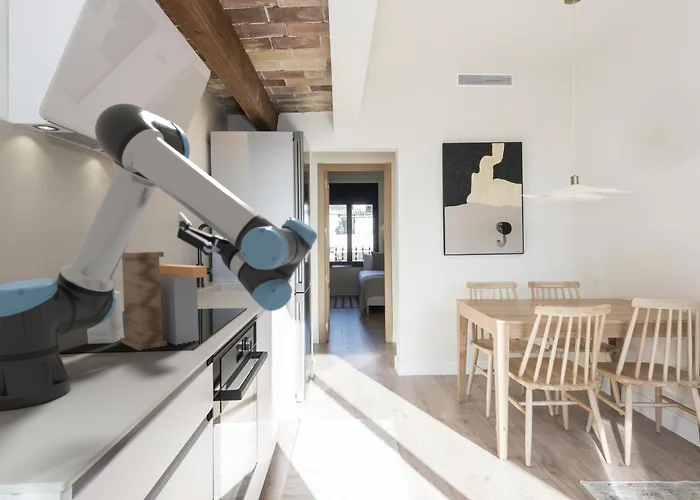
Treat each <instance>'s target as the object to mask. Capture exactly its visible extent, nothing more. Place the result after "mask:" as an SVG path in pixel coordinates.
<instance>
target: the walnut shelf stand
mask: <svg viewBox="0 0 700 500" xmlns="http://www.w3.org/2000/svg"><path fill="white" fill-rule="evenodd" d="M164 256H165V254H164V251H124V253H123V255H122V258H121V260H122V261H121V263H122V264H121V265H122V287H123V288H122V290H123V291H122V292H123V313H124V314H123V315H124V316H123V317H124V337H121V340H120V343H122V344H124V345H126V346H128V347H130V348H132V349H135V350H136V351H143V349H145V350H149V349H148V348H150V349H155V348H159V347H160V346H161V347H165V346H166V347H167V346H168V342H167V340H165V339H162V324H161V296H160V269H159V265H160V258H163V257H164ZM154 347H155V348H154Z"/></svg>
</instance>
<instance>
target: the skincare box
mask: <svg viewBox="0 0 700 500" xmlns="http://www.w3.org/2000/svg"><path fill="white" fill-rule="evenodd" d="M114 291H115V294H114V296H115V298H116V305H115V308H114V311H113V313H112V314H111V316H110V317H109V318H108V319H107V320H106V321H104V322H103V323H101V324H99V325H96V326H95V327H92V328H89V329H86V332H87V344H89V345H91V344H114V343H117V342H119V341H121V337H125V332H124V323H123V322H124V321H123V310H122V309H123V307H122V296H121V294H122V293H121V291H120V290H118V291H117V290H114Z"/></svg>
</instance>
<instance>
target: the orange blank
mask: <svg viewBox="0 0 700 500" xmlns="http://www.w3.org/2000/svg"><path fill="white" fill-rule="evenodd" d="M159 269H160V274H161V275H171V276H180V277H190V278H207V276H208V274H207V273H208V270H207V269H208V268H207V266H206V265H191V264H190V265H188V264H171V263H168V264H159Z"/></svg>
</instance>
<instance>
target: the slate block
mask: <svg viewBox="0 0 700 500" xmlns="http://www.w3.org/2000/svg"><path fill="white" fill-rule="evenodd" d="M197 283H198V281H197V278H190V277H180V276H171V275H161V274H160V296H161V324H162V339H165V340H167V343H170V344H173V345H175V346H179V345H178V344H180V345H184V344H183V343H185V344H189V343H188V342H190V343H194V342H193V341H195V342H199V341H200V340H199V339H200V336H199V307H198V306H199V304H198V284H197ZM198 340H199V341H198Z"/></svg>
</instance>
